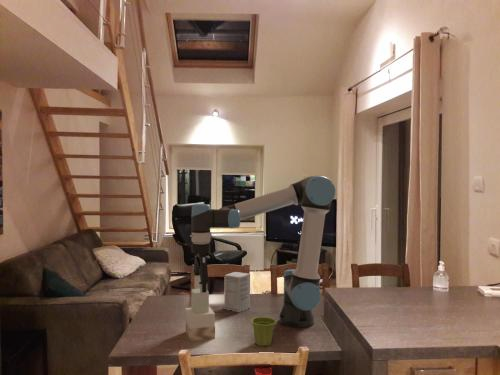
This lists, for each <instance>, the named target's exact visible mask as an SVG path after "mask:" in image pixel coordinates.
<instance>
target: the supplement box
mask: <svg viewBox="0 0 500 375" xmlns="http://www.w3.org/2000/svg"><path fill="white" fill-rule="evenodd" d="M248 308H249V309H250V308H251V274H250V273H247V272H239V271H232V272H231V273H226V274H225V275H224V310H225V309H227V310H226V311H230V310H232V311H231V312H235V311H238V312H237V313H242V312H244V311H246V310H248ZM241 311H242V312H241Z"/></svg>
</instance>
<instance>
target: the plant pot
mask: <svg viewBox="0 0 500 375" xmlns="http://www.w3.org/2000/svg"><path fill="white" fill-rule="evenodd" d="M251 323H252V327H253V335H254V342H255V344H256V345H257V346H261V347H264V346H267V347H268V346H270V345H272V340H273V335H274V329H275V328H274V327H275V324H276V323H277V320H276V319H274V318H272V317H268V316H257V317H253V318H252V319H251Z"/></svg>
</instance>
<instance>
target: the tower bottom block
mask: <svg viewBox="0 0 500 375" xmlns="http://www.w3.org/2000/svg"><path fill="white" fill-rule="evenodd" d="M185 333H186V336H187V339H188V341H189V342H194V341H203V340H204V341H206V340H214V339H216V326H213V327H203V328H193V329H189V327H188V325H187V323H186V322H185Z"/></svg>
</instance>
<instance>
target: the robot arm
mask: <svg viewBox="0 0 500 375" xmlns="http://www.w3.org/2000/svg"><path fill="white" fill-rule="evenodd" d="M335 195H336V186H335V185H334V183H333V181H332V180H331V179H330V178H328V177H326V176H322V175H314V176H308V177H306V178H303V179H301V180H299V181H297V182H294V183H291V184H289V185H288V187H286V188H282V189H280V190H277V191H273V192H269V193H266V194H263V195H260V196H256V197H254V198H250V199H247V200H244V201H241V202H240V201H239V202H237V203H234V204H230V205H227V206H222V207H220V208H218V209H216V208H215V209H214V208H212V207H211V205H210V204H209V203H208V204H206V203H198V204H197V203H196V204H193V205H192V206H191V215H190V217H191V218H190V219H191V221H190V222H191V234H190V235H189V237H190V238H191V242H192V243H191V248H190V250H191V253H192V254H194V265H193V273H194V281H193V282H194V288H193V289H200V301H205V300H207V290H208V284H209V273H208V272H209V271H208V257H206V254H210V253H211V243H210V242H211V229H212V228H213V229H216V228H217V229H219V228H220V229H235V228H237V229H238V228H239V227H241V226H240V225H241V221H242V220H245V219H249V218H252V217H255V216H259V215H262V214H265V213H268V212H272V211H275V210H279V209H281V208H284V207H289V206H291V205H295V206H299V205H301V208H302V210H303V217H302V218H303V219H302V226H301V232H300V233H301V234H300V239H299V248H298V254H297V261H296V262H297V263H296V268H295V269H287V270H284V272H283V304H282V306H281V307H282V308H281V311H280V314H279V320H278V321H279V323H280V324H282V325H283V326H286V327H291V328H309V327H311V326H313V325H314V323H315V317H314V314H313V309H315V308H316V307H317V306H318V305H319V304H320V302H321V300H322V292H321V289H320V283H321V276H320V274H319V273H318V270H319V262H320V256H321V249H322V241H323V234H324V227H325V220H326V214H328V213H329V212H330V211H331V205H332V201H333V200H334V198H335Z"/></svg>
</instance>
